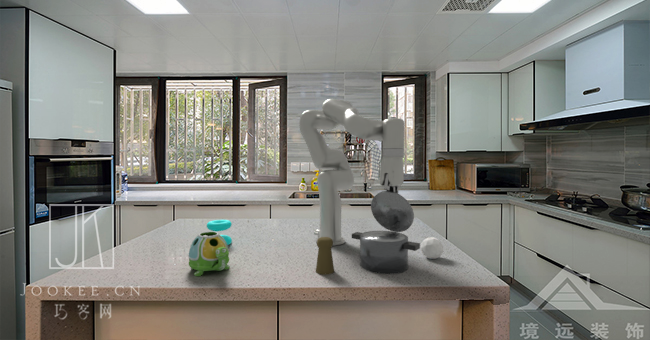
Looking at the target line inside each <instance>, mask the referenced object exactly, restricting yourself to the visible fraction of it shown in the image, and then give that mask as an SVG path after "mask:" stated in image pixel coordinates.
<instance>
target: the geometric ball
mask: <svg viewBox="0 0 650 340" xmlns="http://www.w3.org/2000/svg"><path fill="white" fill-rule="evenodd" d="M420 251H421V252H422V254H423V256H424V257H426V258H428V259H429V260H431V259H432V260H435V259H438V258H440V257H441V256H442V254H443V253H444V245H443V243H442V242H441V241H440V239H438V238H436V237H431V236H430V237H426V238H424V239H423V241H422V242H421V243H420Z"/></svg>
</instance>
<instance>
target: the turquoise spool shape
mask: <svg viewBox="0 0 650 340" xmlns="http://www.w3.org/2000/svg"><path fill="white" fill-rule="evenodd" d="M232 224H233V223H232V222H231V220H229V219H215V220H209V221H208V222H207V223H206V228H207V230H209V231H215V232H222V231H223V232H224V231H227V230H229V229H231V227H232ZM219 235H220V236H222V237H223V238H224V240H225V241H226V243H227V246H229V245H231V243H232V242H233V240H232V237H231V236H230V235H227V234H219Z"/></svg>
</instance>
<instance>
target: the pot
mask: <svg viewBox="0 0 650 340" xmlns="http://www.w3.org/2000/svg"><path fill="white" fill-rule="evenodd" d="M351 239H355V240H359V266H360V268H361V269H363V270H366V271H368V272H370V273H375V274H382V275H395V274H401V273H404V272H406V271H407V270H408V268H409V266H408V265H409V257H408V256H409V251H414V252H416V251H417V250H421V243H420V242H415V241H409V236H408V235H406V234H404V233H401V232H394V231H390V230H368V231H365V232H360V231H356V232H353V233H351Z"/></svg>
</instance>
